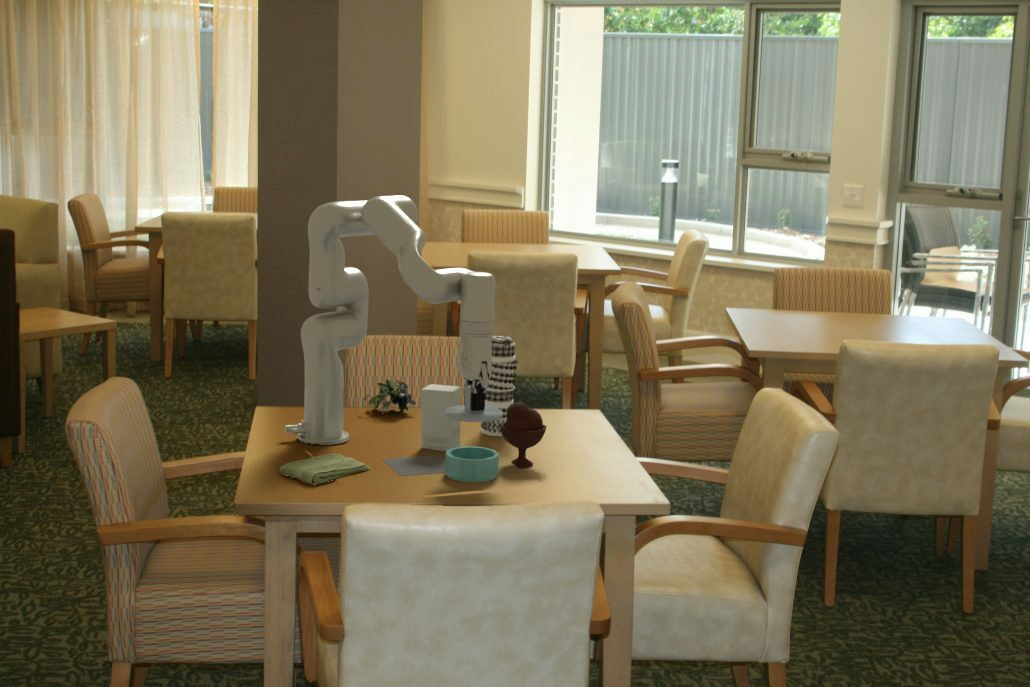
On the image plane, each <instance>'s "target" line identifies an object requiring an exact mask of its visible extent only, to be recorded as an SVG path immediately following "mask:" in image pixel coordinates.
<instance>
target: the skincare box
mask: <svg viewBox="0 0 1030 687" xmlns="http://www.w3.org/2000/svg"><path fill="white" fill-rule="evenodd" d="M420 399H421V400H420V410H421V411H420V416H421V418H420V419H421V420H420V423H421V424H420V426H421V427H420V430H421V433H420V434H421V436H420V439H421V441H420V442H421V444H420V445H421V449H426V450H432V451H433V450H434V451H442V452H447V450H449V449H452V448H455V447H461V421H459V420H454V419H451V418H448V417H447V416H446V415H445V410H446V409H447V408H450V407H453V406H460V405H461V386H457V385H448V384H447V385H444V384H434V383H430V384H429V385H427V386H425V387H423V388H421V389H420Z"/></svg>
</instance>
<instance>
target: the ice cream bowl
mask: <svg viewBox="0 0 1030 687" xmlns="http://www.w3.org/2000/svg"><path fill="white" fill-rule="evenodd" d="M506 417H507V421H506V422H503V423H502V424H501V425H500V430H501V434H502V436H501V437H502V438H503V439H504V440H505V441H506V442H507V443H508V444H509V445H511V446H513V447H515V448H516V449H517V451H518V455H517V457H516V458H515V459H512V460H511V461H510V463H511V464H512V465H513V466H515V467H517V468H518V469H529V468H532V467H533V466H534V462H532V461H531V460H530V459H528V458H527V455H526V454H527V449H530V448H533V447H534V446H536V445H537V444H539V443H540V442H541V440H543V437H544V435H545V434H546V429H547V425H545V424H544V423H543V421H544V420H543V417H542V415H541V414H540V413H539V411H538V410H535V409H534V408H531V407H529V406H528V404H526V403H523V402H522V401H519V402H518V401H515V402H513V404H511V405H510V406H509V407H508V409H507V413H506Z"/></svg>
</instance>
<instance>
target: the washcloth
mask: <svg viewBox="0 0 1030 687" xmlns="http://www.w3.org/2000/svg"><path fill="white" fill-rule="evenodd" d="M370 470H371V466H369V465H366V463H364V462H360V461H358V460H357V459H355V458H353V457H346V456H344V455H343V454H342V453H328V454H327V453H325V454H321V455H320V454H319V455H318V456H314V457H313V456H312V457H309V458H306V459H301V460H295V461H290V462H286V463H285V464H283V465H281V466H280V468H279V472H280V475H282V474H284V475H283V476H285V475H288V476H290V477H289V478H291V477H293V478H297V479H296V480H298V479H300V480H299V481H301V480H302V481H304V482H305V483H306V482H307V483H306V484H308V483H309V484H314V483H315V484H316V483H317V484H319V485H322V484H321V483H323V484H326V483H325V482H328V481H331V480H336V481H337V479H338V478H342V477H345V476H348V475H353V474H357V473H361V472H365V471H367V472H368V471H370ZM288 476H287V477H288ZM293 478H292V479H293ZM302 481H301V482H302ZM304 482H303V483H304ZM328 483H329V482H328ZM309 484H308V485H309Z"/></svg>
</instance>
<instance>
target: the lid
mask: <svg viewBox="0 0 1030 687" xmlns="http://www.w3.org/2000/svg"><path fill="white" fill-rule="evenodd" d="M477 385H478V383H477ZM464 389H465V406H464V404H460V406H453V407H450V408H447V409H446V410H445V415H446V416H447V417H448V418H451V419H454V420H459V421H460V422H468V423H469V422H470V423H482V422H489V421H495V420H498V419H501V418H502V417H503V411H502V410H500V409H498V408H494V407H490V406H485V409H484V410H480V411H472V410H471V393H473V384H465V388H464Z"/></svg>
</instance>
